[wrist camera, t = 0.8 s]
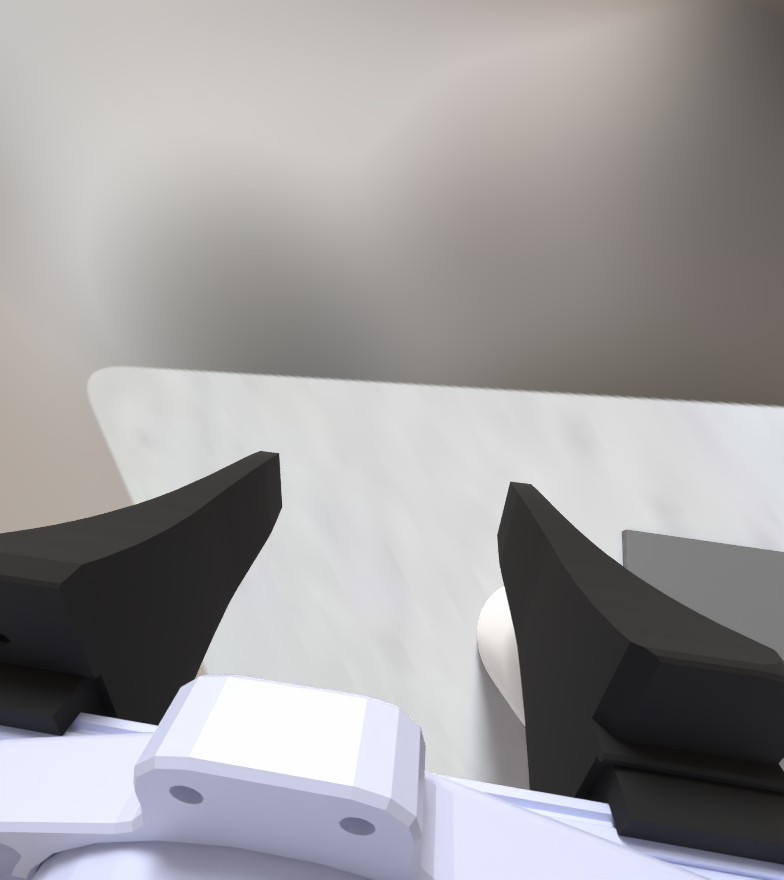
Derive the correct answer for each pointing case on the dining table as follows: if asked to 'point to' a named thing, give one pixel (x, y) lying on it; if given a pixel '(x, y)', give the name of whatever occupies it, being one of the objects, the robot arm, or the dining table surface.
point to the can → (501, 650)
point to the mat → (715, 581)
